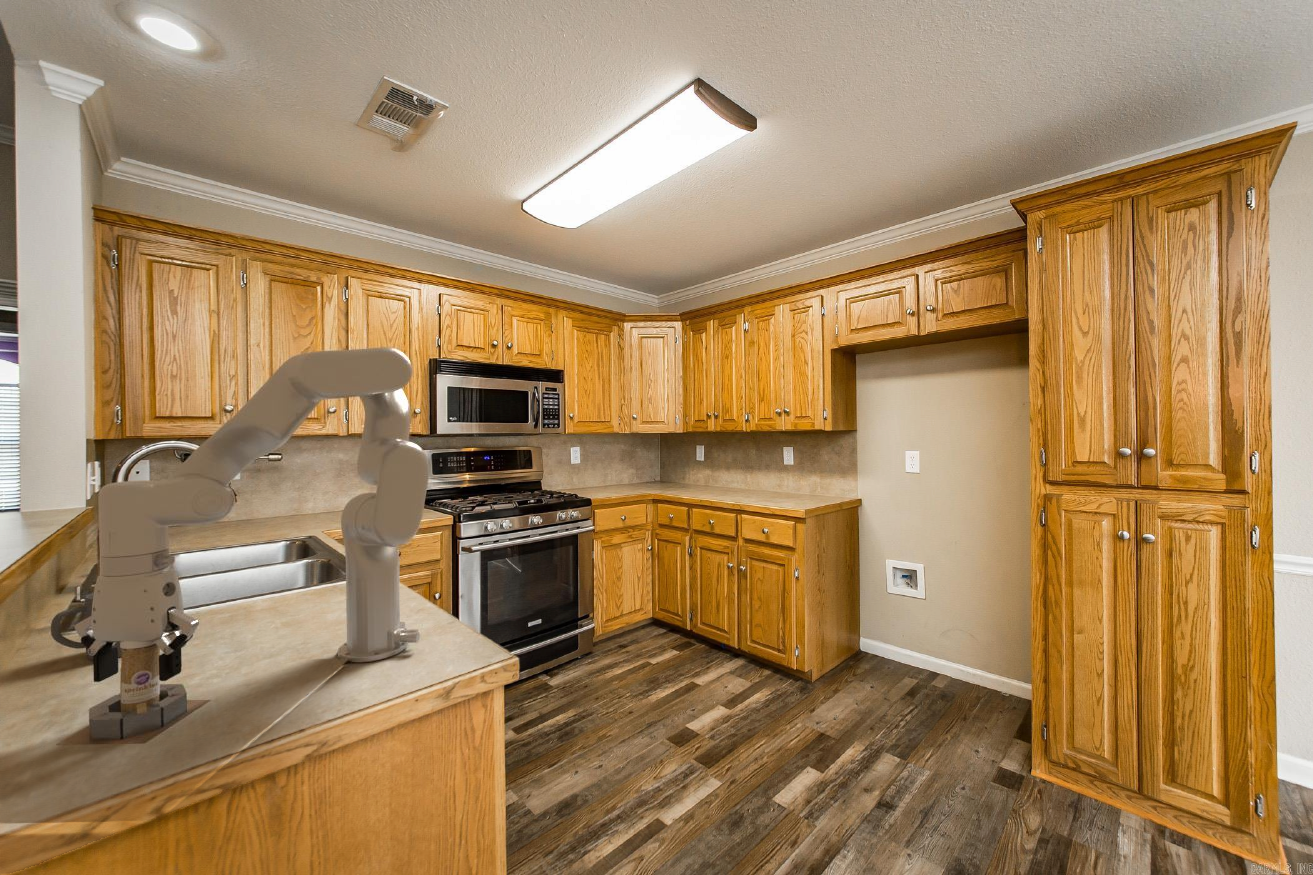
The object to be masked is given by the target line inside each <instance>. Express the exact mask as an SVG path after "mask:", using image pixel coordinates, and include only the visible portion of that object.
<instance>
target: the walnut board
mask: <svg viewBox="0 0 1313 875" xmlns="http://www.w3.org/2000/svg"><path fill="white" fill-rule="evenodd" d="M211 701H212V699H187V712H186V713H185V714H184V715H182V716H181V717H179V718H178V719H176V720H174V721H173V722H171V723H170V724H168V725H167V726H165V727H161V729H158V730H154V731H151V732H148V733H144V734H141V735H138V736H134V737H131V738H128V739H125V740H123V739H122V740H115V741H91V740H90V734H89V726H87V727H85V728H84V729H82V730H80V731H78V732H76V733H74V734H73V735H71V736H69V737H67V738H65V739H64V740H62V741H60V742H59V743H56V746H60V745H62V746H63V745H64V746H65V745H66V746H67V745H68V746H70V745H72V746H73V745H121V744H122V745H123V744H124V745H125V744H126V745H128V744H129V745H130V744H132V745H133V744H135V745H136V744H146V743H148V742H149V741H150V740H152V739H154V738H156V737H157V736H158V735H160V734H162V733H163V732H165V731H166V730H168V729H169V728H170V727H172V726H174V725H175V724H177V723H178V722H180V721H181V720H182V719H184V718H186V717H188V716H189V715H191V714H192V713H194V712H195V711H197V710H199V709H201V707H203V706H205V705H206V704H208V703H209V702H211Z"/></svg>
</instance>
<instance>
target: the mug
mask: <svg viewBox="0 0 1313 875" xmlns="http://www.w3.org/2000/svg"><path fill="white" fill-rule="evenodd" d="M93 596H94V591H93V592H91V593H88V594H86V596H85V597H84V605H82V606H79V607H73V608H70V609H66V610H63V611H61V612H58V613H57V614H56V615H54V617H53V619H52V620H51V623H50V635H51V636H52V639H53V640H54V641H55V642H56V643H58V644H60V645H63V646H64V647H69V648H72V649H79V650H80V649H85V654H86V658H87V659H88V660H90V661H93V656H94V655H89V654H88V648H87V647H86V646H85V645H84V644H83V643H82V642H81V641H74V640H71V639H69V638H67V637H65V635H64V636H63V634H62V633H61V629H60V628H61V621H62V620H63V618H64V617H66V616H70V615H75V614H79V613H84V620H85V619H86V618H88V617H90V616H92V604H93ZM113 647H117V649H118V659H119V658H122V651H121V647H120V642H116V643H115V644H114V646H113ZM113 647H112V648H113Z"/></svg>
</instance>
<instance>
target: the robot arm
mask: <svg viewBox="0 0 1313 875" xmlns="http://www.w3.org/2000/svg"><path fill="white" fill-rule="evenodd" d="M412 376H413V366H412V363H411V361H410V359H409V357H408V356H407V355H406V354H405V353H404V352H402V351H400V350H399V349H397V348H394V347H389V346H386V347H385V346H384V347H381V346H380V347H370V348H368V347H367V348H359V349H357V348H355V349H339V350H338V349H337V350H318V351H317V350H316V351H312V352H311V351H310V352H305V353H304V352H303V353H301V354H300V353H299V354H296V355H293V356H291V357H290V358H288V359H286V361H284V362H283V363H282V364H281V365H280V366H279V367H278V368H277V369H276V371H275V372H274V373H273V374H272V375H271V376H270V377H268V379H267V380H266V382H264V383H263V385H262V386H261V387H260V388H259V389H258V390H257V391H256V393H255V394H253V396H252V397H251V398H250V399H248V401H247V402H246V403H245V404H244V405H243V406H242V407H241V408H240V409H239V410H238V411H237V412H236V413H235V414H234V415H233V416H232V417H231V418H230V419H229V420H227V421H226V422H225V423H223V425H221V427H220V428H219V429H218V430H216V431H215V432H214V433H213V434H212V435H211V436H210V437H208V438H207V439H206V440H205V441H204V442H202V443H201V444H200V446H198V447H197V448H196V449H195V450H194V451H193V452H192V453H191V454H190V455H189V456H188V457H187V458H186V459H185V460H184V461H183V463H182V464H181V465H180V466H179V467H178V468H177V469H176V470H175V471H174V472H173V473H172V474H171V475H170V477H169V478H168V479H167V480H166V481H165V482H161V481H158V480H130V481H129V480H126V481H118V482H117V481H116V482H111V483H108V484H105V485H103V486H102V487H101V488H100V490H99V491H98V496H97V497H98V498H97V499H98V503H97V504H98V534H99V536H98V537H99V539H98V540H99V543H98V544H99V571H100V572H99V575H98V576H97V577H96V578H97V579H96V581H95V586H94V590H93V592H94V596H93V604H92V616H90V617H88V618H86V619H85V618H84V619H83V620H81V621H79V622H77V623H76V624H74V630H75V631H76V634H78V636H79V638H80V642H82V643H83V644H84V645H85V646H86V647H87V648H88V654H89V655H94V656H93V660H92V662H93V663H92V664H93V665H92V666H93V669H92V670H93V682H94V683H101V682H103V681H105V680H107V679H108V678H111V677H113V676H115V675H116V674H119V658H118V649H117V647H113V646H114V644H115V643H116V642H124V641H133V642H150V641H154V642H155V643H156V645H157V646H158V647H159V648H160V651H161V652H162V653H161V654H160V655H159V680H160V682H166V681H168V680H170V679H171V678H173V677H176V676H177V675H179V674H181V672H182V666H183V664H182V662H183V661H182V649H183V648H185V647H186V646H187V643H189V641H190V640H192V638H193V636H194V634H195V632H196V630H197V628H198V627H199V625H200V623H199V620H197V619H196V618H194V617H192V616H190V615H187V614H186V613H184V612H185V611H184V602H183V594H182V587H181V584H180V580H179V577H178V573H177V571H176V569H175V568H170V566H171V565H173V564H174V563H175V561H176V558H175V556H173V555H170V533H169V530H170V528H169V526H171V527H172V526H207V525H212V524H215V523H218V522H220V521H222V520H223V519H225V518H226V517H228V516H229V515H230V513H231V512H232V511H233V510H234V507H235V504H236V496H235V493H234V490H233V489H232V488H231V487H230V486H229V485H230V484H231V483H232V481H233V480H234V479H235V478H236V477H237V476H238V475H239V474H240V473H241V472H242V471H243V470H244V469H246V468H247V467H248V466H249V465H251V464H252V463H253V462H255V461H256V460H258V459H260V458H261V457H263V456H265V455H268V454H270V453H272V452H274V451H275V450H277V449H279V448H280V447H282V446H283V445H285V444H286V443H287V442H288V441H289V439H290V438H291V437H292V436H293V435H294V433H295V432H296V431H297V430H298V429H299V428H300V427H301V425H302V424H303V423H304V422H305V420H306V419H307V418H308V417H309V416H310V415H311V414H312V412H313V411H314V410H315V409H316V408H317V407H318V405H319V404H320V403H321V402H322V400H334V399H335V400H337V399H346V398H356V397H358V398H359V399H360V401H361V402H362V405H363V409H364V421H363V429H362V435H361V440H360V446H359V451H358V456H357V462H356V470H357V474H358V476H359V478H360V479H361V480H362V481H363V482H364V483H366V484H369V485H371V486H376V492H365V493H361V494H358V495H356V496H354V497H352V498H351V499H350V500H349V501H348V502H347V503H346V504H345V506H344V508H343V510H342V513H341V518H340V527H341V535H342V539H343V540H342V541H343V544H344V546H343V547H344V553H345V591H346V592H345V593H346V594H345V597H346V599H345V600H346V602H345V603H346V604H345V606H346V608H345V609H346V642H344V643H342V644H341V645H340V646H339V647H338V649H337V656H338V658H339V659H341V660H342V659H345V660H347V662H348V663H369V662H373V661H381V660H383V659H384V660H385V659H388V658H390V657H393V656H395V655H398V654H399V653H400V654H401V652H403V651H404V650H405V649H407V647H408V645H409V644H411V643H415V644H416V643H417V644H418V643H419V641H420V638H421V636H420V635H421V634H420V632H419V629H415V628H412V629H408V628H406V621H401V620H400V619H401V618H400V616H401V613H400V611H401V610H400V609H401V607H400V605H401V604H400V602H401V600H400V597H401V596H400V593H401V592H400V553H399V547H401V546H403V545H406V544H407V543H409V542H411V541H412V539H413V538H414V537H415V536H416V535H417V532H418V531H419V529H420V526H421V523H422V519H423V515H424V508H425V503H426V502H425V501H426V497H427V490H428V484H429V479H430V478H429V476H430V464H429V460H428V457H427V454H426V453H425V451H424V449H422V447H421V446H419V445H418V444H417V443H415V442H412V441H410V430H411V421H412V414H411V413H412V412H411V406H410V402H409V400H408V397H407V395H406V393H405V392H404V388H405V387H406V386H407V385H408V384H409V383H410V381H411V380H412ZM179 631H180V632H179ZM167 638H168V639H169V640H168V639H167ZM112 647H113V648H112Z"/></svg>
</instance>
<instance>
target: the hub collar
mask: <svg viewBox="0 0 1313 875" xmlns="http://www.w3.org/2000/svg"><path fill="white" fill-rule="evenodd" d="M187 700H188V696H187V691H186V689H185V686H184V684H182V683H173V684H172V683H171V684H170V683H169V684H167V683H164V684H163V683H162V684H161V683H160V694H159V702H158V703H156V704H155V705H152V706H148V707H147V706H146V702H145V703H142V704H138V705H136V710H134V711H130V712H121V701H120V693H118V694H115V695H112V696H111V697H109V698H107V699H105V700H103V701H102V702H100V703H97V704H95V705H94V706H92V707H89V709H88V727H89V734H90V740H91V741H115V740H122V739H123V740H125V739H128V738H131V737H134V736H138V735H141V734H144V733H148V732H151V731H154V730H158V729H161V727H165V726H167V725H168V724H170V723H171V722H173V721H174V720H176V719H178V718H179V717H181V716H182V715H184V714H185V713H186V712H187Z"/></svg>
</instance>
